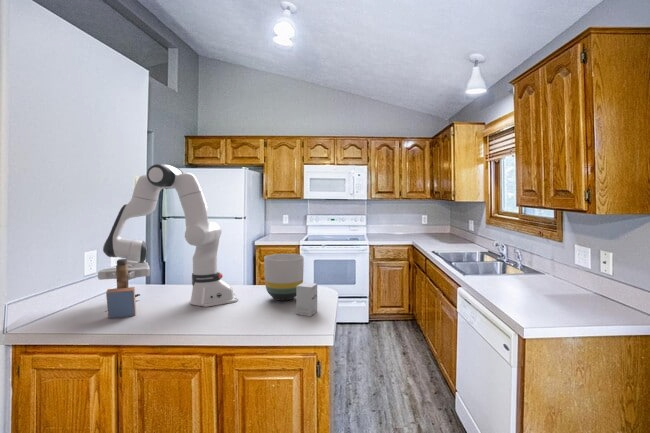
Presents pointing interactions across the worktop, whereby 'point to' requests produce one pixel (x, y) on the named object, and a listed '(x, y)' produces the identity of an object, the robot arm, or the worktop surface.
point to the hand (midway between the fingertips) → (121, 276)
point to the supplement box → (306, 298)
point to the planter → (283, 275)
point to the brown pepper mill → (122, 273)
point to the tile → (121, 302)
